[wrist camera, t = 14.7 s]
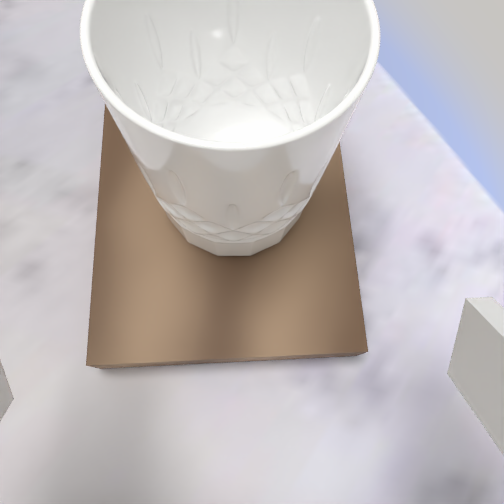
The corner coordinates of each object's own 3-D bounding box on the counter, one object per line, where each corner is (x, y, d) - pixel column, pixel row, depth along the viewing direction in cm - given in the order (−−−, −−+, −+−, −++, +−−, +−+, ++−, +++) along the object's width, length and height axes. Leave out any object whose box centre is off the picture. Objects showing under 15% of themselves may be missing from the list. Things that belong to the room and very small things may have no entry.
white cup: (310, 124, 22) (365, -81, 13) (319, 270, 19) (398, 151, 10) (157, 123, 22) (96, -89, 12) (146, 270, 19) (59, 147, 10)
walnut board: (100, 368, 20) (86, 365, 18) (117, 85, 25) (108, 60, 23) (355, 355, 20) (368, 351, 18) (321, 82, 25) (327, 57, 24)
